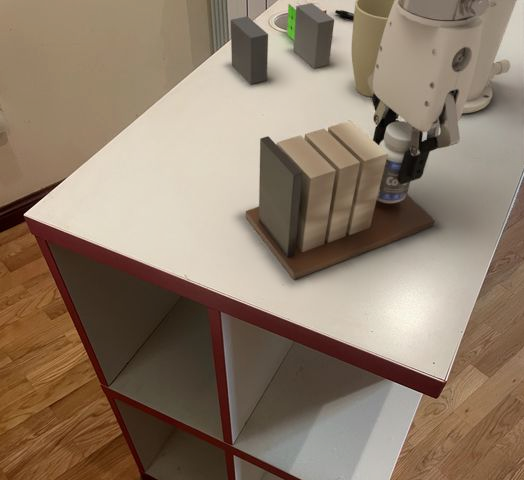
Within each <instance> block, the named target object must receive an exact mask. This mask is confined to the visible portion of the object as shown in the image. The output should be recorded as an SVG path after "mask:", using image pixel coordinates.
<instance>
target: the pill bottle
mask: <svg viewBox="0 0 524 480" xmlns="http://www.w3.org/2000/svg"><path fill="white" fill-rule="evenodd" d="M411 131H412V125H411V124H409V123H408V122H407V121H406V120H404V121H402V120H399V121H397V122H392V123H390V124H389V125H388V126H387V128H386V131H385V135H384V140H382V141H381V142H380V144H379V146H380V147H381V148H382V149H383V150H384V151H386V152H387V153H388V155H387V159H386V163H385V167H384V171H383V176H382V180H381V184H380V188H379V192H378V196H377V200H378V201H380V202H383V203H397V202H400V201H402V200H403V199H404V198H405V197H406V195H408V191H409V188H410V184H411V182H412V181H410V182H408V183H405V184H400V183H399V182H398V175H399V172H400V168H401V164H402V161H403V157H404V154H405V152H406V151H409V150H410V143H411Z"/></svg>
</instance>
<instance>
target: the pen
mask: <svg viewBox="0 0 524 480" xmlns="http://www.w3.org/2000/svg"><path fill="white" fill-rule="evenodd" d="M334 11H335V14H336V15H338V16H339V17H341V18H343V19H347V20H354V12H350V11H346V10H343V9H340V10H339V9H336V10H334Z"/></svg>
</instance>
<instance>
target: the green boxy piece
mask: <svg viewBox="0 0 524 480" xmlns="http://www.w3.org/2000/svg"><path fill="white" fill-rule="evenodd" d="M309 3H312V4H314V5H315V6H317V7H318V8H319V9H321V10H322V11H323V12H325V13H326V14H327V11H328V10H327V9H326V8H324V7H323V6H322V5H321V4H320V3H318V2H317V1H316V0H302V1H296V2H289V3H288V5H287V7H288V8H287V23H286V24H287V25H286V35H287V36H288V37H289V38H290V39H291V40H292V41H294V34H295V19H296V6H300V5H304V4H309Z"/></svg>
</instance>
